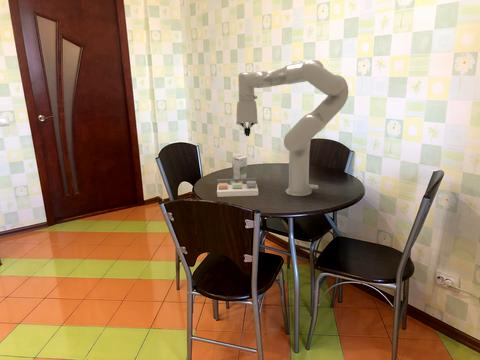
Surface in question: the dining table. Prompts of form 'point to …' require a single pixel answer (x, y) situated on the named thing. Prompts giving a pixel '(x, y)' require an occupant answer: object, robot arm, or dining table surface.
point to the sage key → (237, 185)
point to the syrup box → (239, 167)
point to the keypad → (237, 191)
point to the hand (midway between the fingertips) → (247, 135)
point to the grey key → (251, 183)
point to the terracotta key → (222, 185)
